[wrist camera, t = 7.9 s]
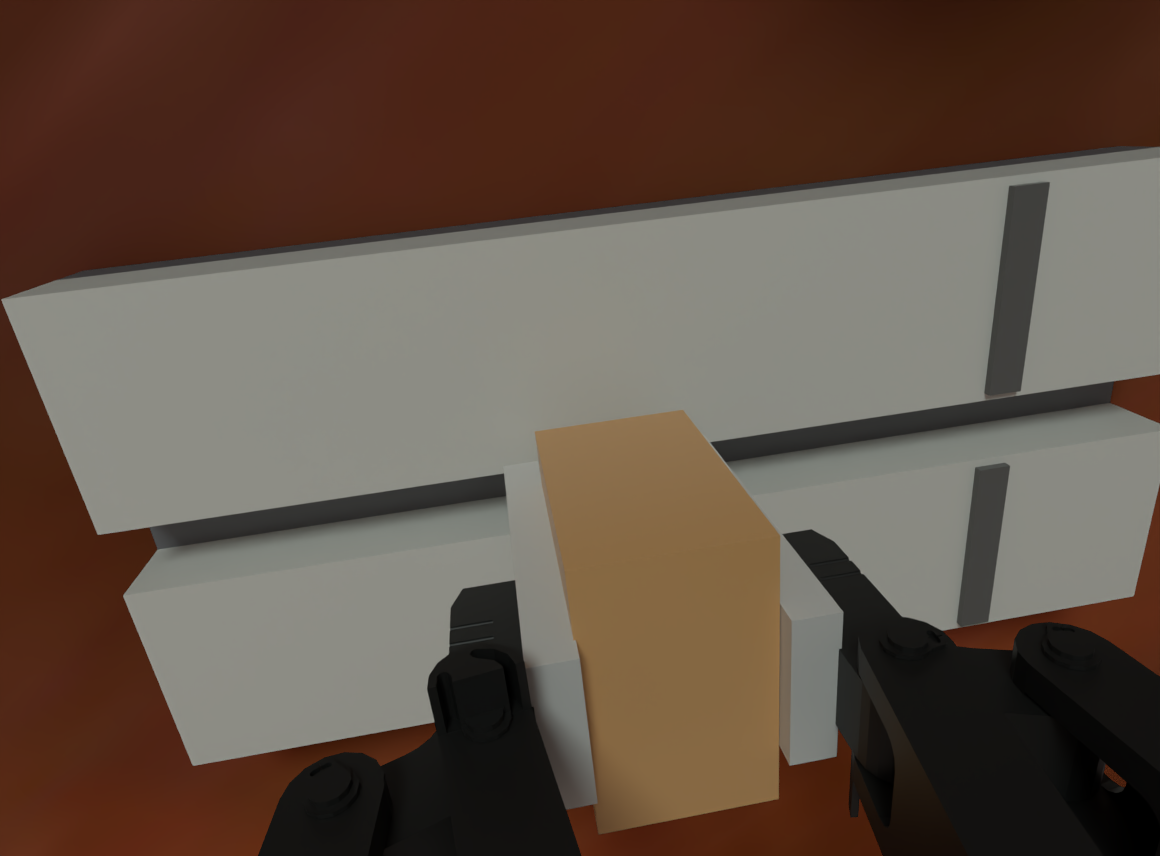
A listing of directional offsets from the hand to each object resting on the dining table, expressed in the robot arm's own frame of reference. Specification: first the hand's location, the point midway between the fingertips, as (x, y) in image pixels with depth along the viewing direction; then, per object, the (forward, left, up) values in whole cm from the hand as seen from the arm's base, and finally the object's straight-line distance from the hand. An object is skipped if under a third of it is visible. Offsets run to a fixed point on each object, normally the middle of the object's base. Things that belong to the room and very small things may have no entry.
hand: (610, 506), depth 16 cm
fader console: (0, +2, -4) cm, 4 cm away
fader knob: (0, 0, -3) cm, 3 cm away
